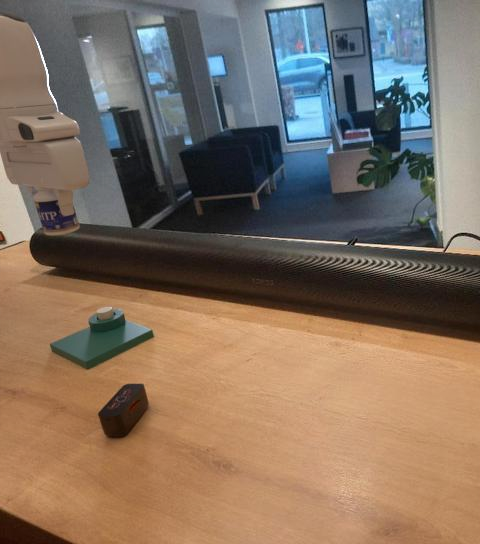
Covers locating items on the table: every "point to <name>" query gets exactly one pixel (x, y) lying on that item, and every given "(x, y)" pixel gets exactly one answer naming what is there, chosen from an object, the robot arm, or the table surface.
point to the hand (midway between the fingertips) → (57, 213)
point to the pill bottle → (53, 213)
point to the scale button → (105, 313)
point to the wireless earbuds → (123, 409)
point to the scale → (101, 340)
